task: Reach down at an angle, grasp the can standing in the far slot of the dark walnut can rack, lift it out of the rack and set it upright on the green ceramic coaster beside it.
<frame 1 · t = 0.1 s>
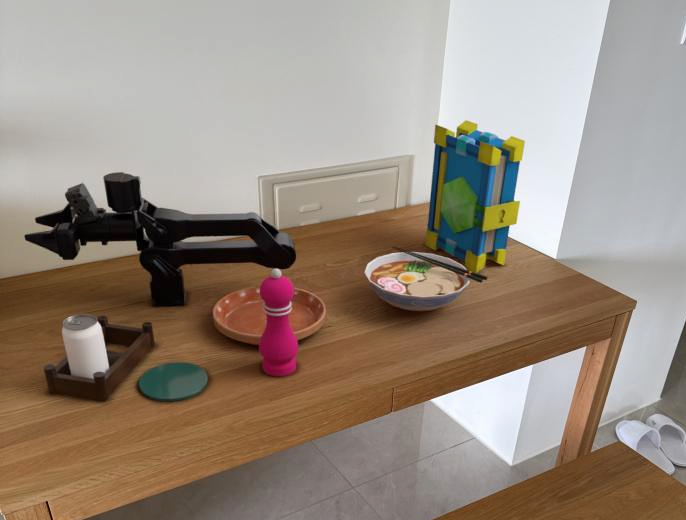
hand: (30, 228, 143), 17 cm above the table, tool horizontal, fingers open, 9 cm apart
decorative book: (463, 255, 182), on the table
ramen bowl: (414, 304, 158), on the table
can: (92, 381, 129), resting in rack
coaster: (173, 382, 129), on the table
saucer: (270, 325, 148), on the table
rack: (105, 367, 132), on the table
pepper mill: (279, 368, 135), on the table
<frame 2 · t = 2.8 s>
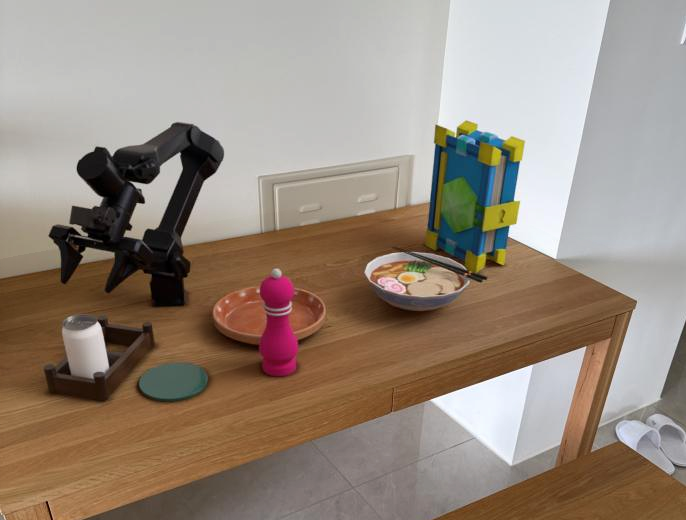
hand: (84, 287, 128), 14 cm above the table, tool tilted 50°, fingers open, 9 cm apart
nothing on the table moved.
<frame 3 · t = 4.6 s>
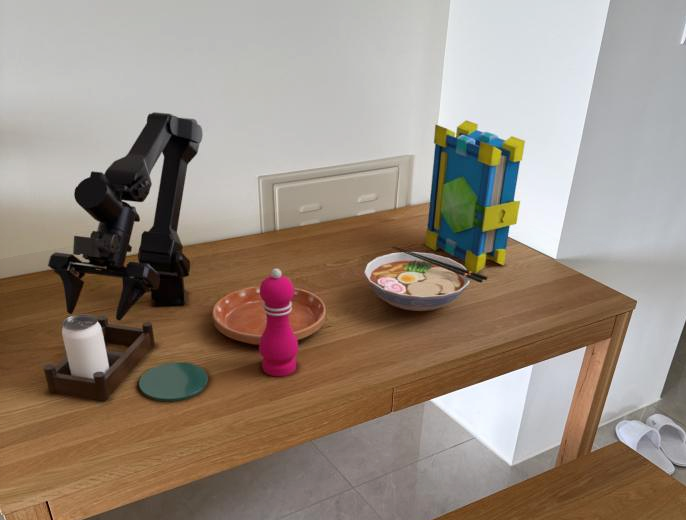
hand: (93, 316, 126), 11 cm above the table, tool tilted 45°, fingers open, 9 cm apart
nothing on the table moved.
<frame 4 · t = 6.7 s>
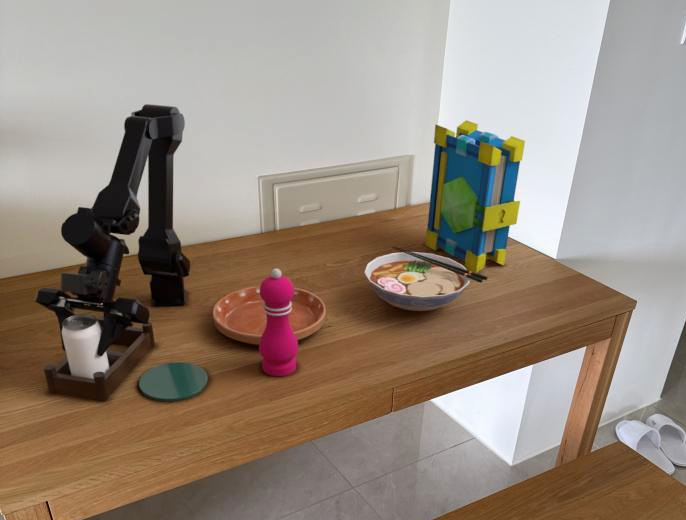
hand: (81, 353, 124), 7 cm above the table, tool tilted 45°, fingers closed on can, 6 cm apart
can: (92, 381, 129), resting in rack, touching gripper
everything else where it was.
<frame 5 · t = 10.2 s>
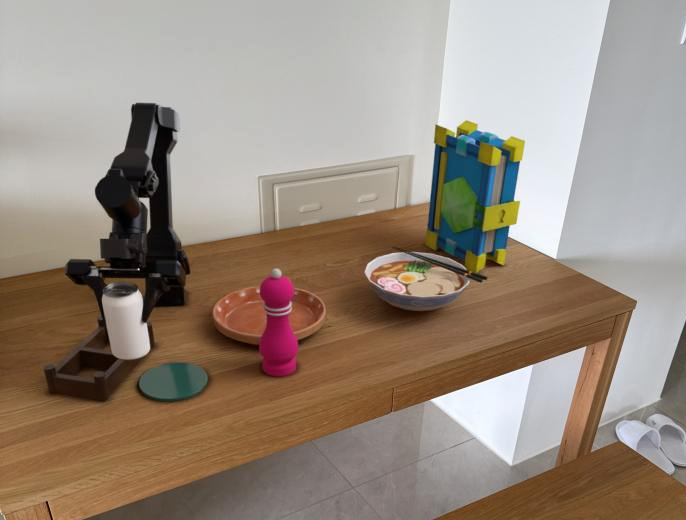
hand: (124, 322, 120), 13 cm above the table, tool tilted 45°, fingers closed on can, 6 cm apart
can: (131, 352, 125), point 6 cm above the table, touching gripper
everything else where it was.
when the fingers open (7 cm above the table, at t = 13.6 s): can stays where it is, resting on coaster.
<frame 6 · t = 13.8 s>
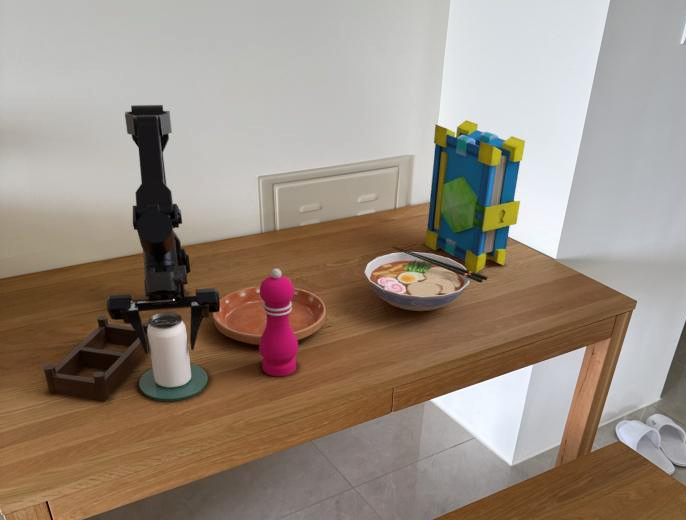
hand: (169, 351, 124), 7 cm above the table, tool tilted 45°, fingers open, 7 cm apart
can: (173, 380, 129), resting on coaster
everything else where it was.
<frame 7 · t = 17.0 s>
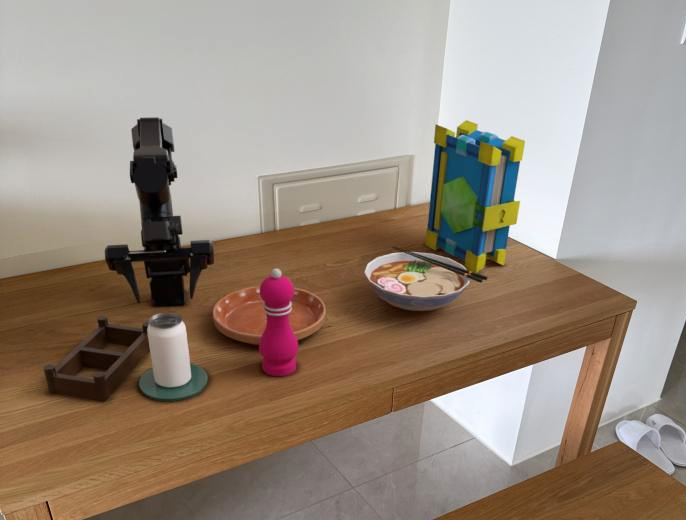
hand: (165, 300, 128), 12 cm above the table, tool tilted 45°, fingers open, 9 cm apart
nothing on the table moved.
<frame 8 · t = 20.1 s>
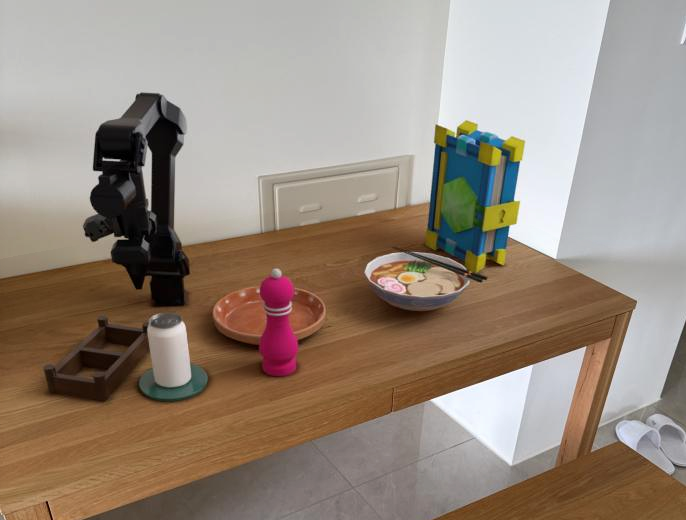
hand: (141, 278, 136), 12 cm above the table, tool pointing down, fingers open, 9 cm apart
nothing on the table moved.
at the end: can 0.2 cm off-centre on the coaster, point 0.4 cm above the coaster's base; can tilted 0°; the gripper is holding nothing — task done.
